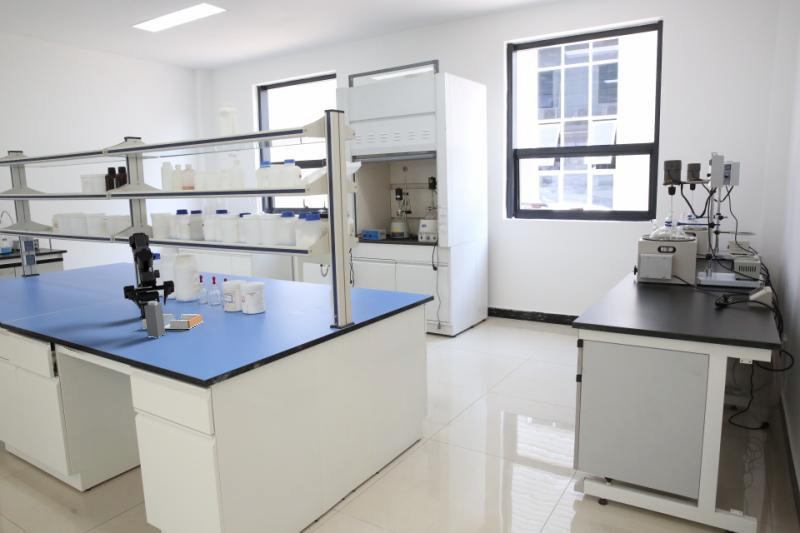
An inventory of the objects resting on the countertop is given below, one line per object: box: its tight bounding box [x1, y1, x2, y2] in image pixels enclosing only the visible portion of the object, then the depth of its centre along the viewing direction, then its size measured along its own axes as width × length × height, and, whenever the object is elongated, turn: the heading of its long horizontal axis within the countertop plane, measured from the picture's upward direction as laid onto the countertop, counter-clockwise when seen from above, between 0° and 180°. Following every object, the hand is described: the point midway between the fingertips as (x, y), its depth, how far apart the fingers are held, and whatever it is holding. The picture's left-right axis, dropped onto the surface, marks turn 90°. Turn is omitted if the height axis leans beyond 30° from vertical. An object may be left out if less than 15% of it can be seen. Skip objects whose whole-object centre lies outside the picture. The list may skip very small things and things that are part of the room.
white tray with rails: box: [140, 313, 204, 329], centre depth 224 cm, size 22×11×4 cm, turn 80°
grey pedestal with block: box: [144, 301, 166, 337], centre depth 210 cm, size 4×4×14 cm
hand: (152, 306), depth 213 cm, fingers open, 9 cm apart
